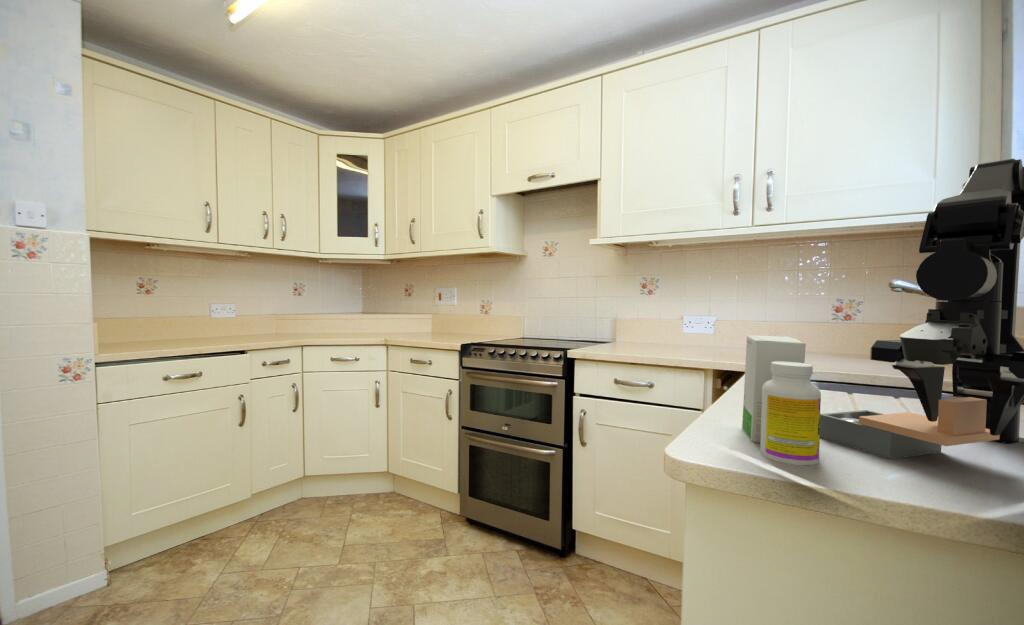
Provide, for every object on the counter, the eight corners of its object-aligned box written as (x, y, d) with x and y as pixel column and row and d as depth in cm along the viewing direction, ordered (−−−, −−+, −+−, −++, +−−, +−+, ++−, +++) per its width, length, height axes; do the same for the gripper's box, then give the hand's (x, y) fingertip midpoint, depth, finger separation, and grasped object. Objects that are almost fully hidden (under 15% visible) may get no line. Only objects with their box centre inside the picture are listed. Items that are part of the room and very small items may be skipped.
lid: (908, 418, 66) (909, 384, 66) (999, 439, 57) (1001, 399, 56) (858, 423, 63) (860, 388, 63) (945, 446, 54) (947, 404, 53)
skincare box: (741, 430, 74) (744, 334, 73) (787, 434, 72) (790, 336, 71) (751, 446, 66) (754, 338, 65) (803, 451, 64) (807, 340, 63)
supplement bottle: (828, 472, 56) (832, 368, 56) (770, 467, 57) (773, 366, 57) (805, 454, 63) (808, 361, 62) (753, 450, 64) (755, 359, 64)
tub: (865, 435, 72) (866, 409, 72) (940, 456, 62) (942, 427, 62) (817, 440, 69) (818, 414, 69) (889, 463, 59) (890, 432, 59)
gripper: (843, 300, 62) (839, 413, 63) (1033, 301, 44) (1026, 459, 45) (900, 301, 66) (895, 408, 66) (1098, 302, 48) (1090, 449, 48)
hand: (962, 427), depth 56 cm, fingers open, 6 cm apart
